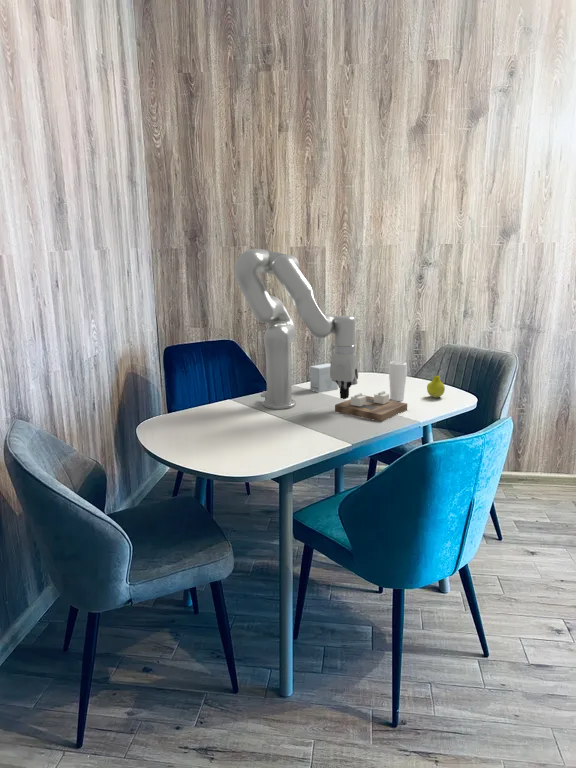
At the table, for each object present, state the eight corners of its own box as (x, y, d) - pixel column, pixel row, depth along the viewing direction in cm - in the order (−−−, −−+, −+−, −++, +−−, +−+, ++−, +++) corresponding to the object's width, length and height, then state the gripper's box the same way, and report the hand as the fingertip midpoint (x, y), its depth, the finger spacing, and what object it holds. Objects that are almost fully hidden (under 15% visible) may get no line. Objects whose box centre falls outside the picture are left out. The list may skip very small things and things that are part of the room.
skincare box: (328, 386, 247) (328, 362, 245) (338, 389, 242) (338, 365, 240) (309, 389, 241) (309, 365, 239) (319, 392, 236) (319, 368, 234)
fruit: (423, 397, 227) (424, 368, 224) (432, 394, 232) (434, 365, 229) (437, 400, 222) (439, 370, 220) (447, 397, 227) (449, 368, 224)
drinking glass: (407, 402, 220) (408, 364, 217) (389, 402, 221) (390, 364, 217) (404, 397, 227) (405, 360, 223) (387, 397, 227) (388, 361, 224)
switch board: (334, 411, 209) (334, 404, 209) (361, 401, 223) (361, 394, 222) (381, 421, 197) (381, 414, 196) (407, 410, 210) (407, 403, 210)
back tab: (374, 402, 211) (374, 392, 210) (379, 400, 214) (380, 390, 213) (383, 404, 208) (383, 394, 207) (389, 401, 211) (389, 391, 210)
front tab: (350, 404, 208) (350, 394, 207) (356, 402, 211) (357, 392, 210) (359, 406, 205) (360, 396, 204) (365, 404, 208) (366, 394, 207)
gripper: (322, 349, 209) (322, 397, 214) (356, 353, 200) (355, 403, 204) (334, 346, 215) (333, 393, 219) (367, 350, 205) (366, 399, 210)
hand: (344, 398), depth 212 cm, fingers closed
